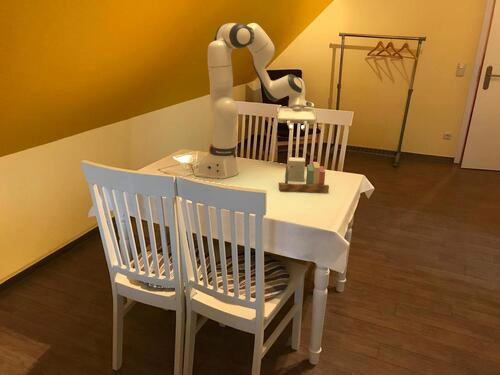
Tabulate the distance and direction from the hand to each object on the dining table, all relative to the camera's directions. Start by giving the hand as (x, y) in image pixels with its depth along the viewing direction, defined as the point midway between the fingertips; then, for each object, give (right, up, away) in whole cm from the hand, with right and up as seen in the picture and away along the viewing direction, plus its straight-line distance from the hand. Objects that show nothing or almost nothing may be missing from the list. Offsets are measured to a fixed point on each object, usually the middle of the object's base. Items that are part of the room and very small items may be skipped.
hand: (296, 129), depth 215 cm
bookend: (-8, -29, -17) cm, 35 cm away
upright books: (+6, -30, -17) cm, 35 cm away
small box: (-1, -26, -6) cm, 26 cm away
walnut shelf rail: (+1, -31, -22) cm, 38 cm away
